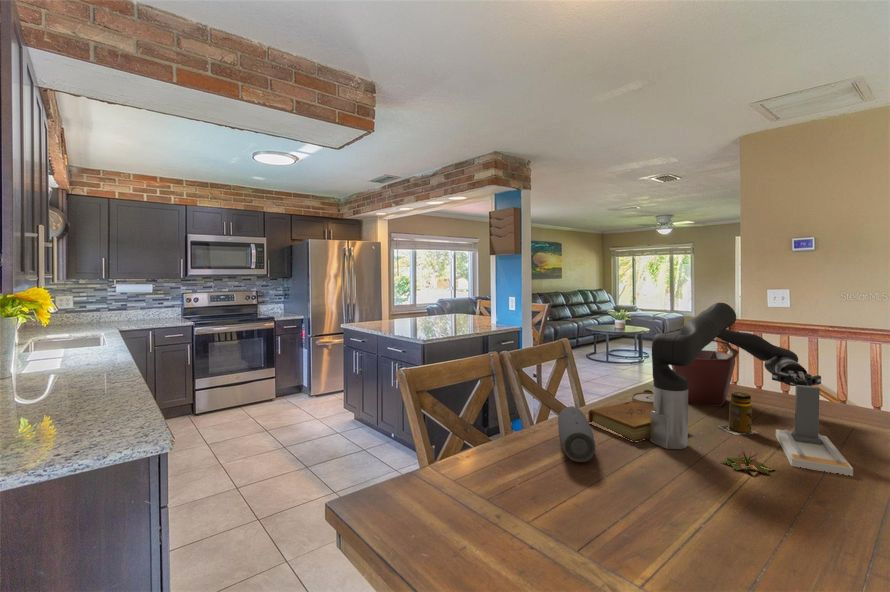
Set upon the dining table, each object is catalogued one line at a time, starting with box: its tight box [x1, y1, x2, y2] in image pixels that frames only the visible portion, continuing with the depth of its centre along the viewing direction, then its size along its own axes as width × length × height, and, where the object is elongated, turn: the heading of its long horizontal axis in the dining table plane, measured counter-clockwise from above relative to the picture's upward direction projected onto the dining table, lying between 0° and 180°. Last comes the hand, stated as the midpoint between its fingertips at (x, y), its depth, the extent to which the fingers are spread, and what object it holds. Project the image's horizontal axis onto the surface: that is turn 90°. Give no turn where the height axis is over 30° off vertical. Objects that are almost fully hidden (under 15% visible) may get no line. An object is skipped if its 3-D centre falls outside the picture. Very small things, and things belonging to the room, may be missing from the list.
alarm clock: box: [629, 389, 654, 405], centre depth 166 cm, size 11×5×15 cm
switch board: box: [775, 428, 854, 477], centre depth 119 cm, size 24×12×3 cm, turn 150°
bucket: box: [671, 338, 739, 406], centre depth 170 cm, size 24×22×25 cm
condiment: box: [716, 391, 758, 436], centre depth 137 cm, size 7×8×12 cm
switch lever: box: [791, 385, 821, 444], centre depth 123 cm, size 4×6×16 cm, turn 60°
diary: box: [588, 400, 653, 443], centre depth 142 cm, size 23×19×6 cm
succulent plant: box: [720, 449, 775, 475], centre depth 112 cm, size 12×12×5 cm
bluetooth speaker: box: [557, 405, 596, 463], centre depth 124 cm, size 23×9×10 cm, turn 168°
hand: (802, 384), depth 128 cm, fingers closed
